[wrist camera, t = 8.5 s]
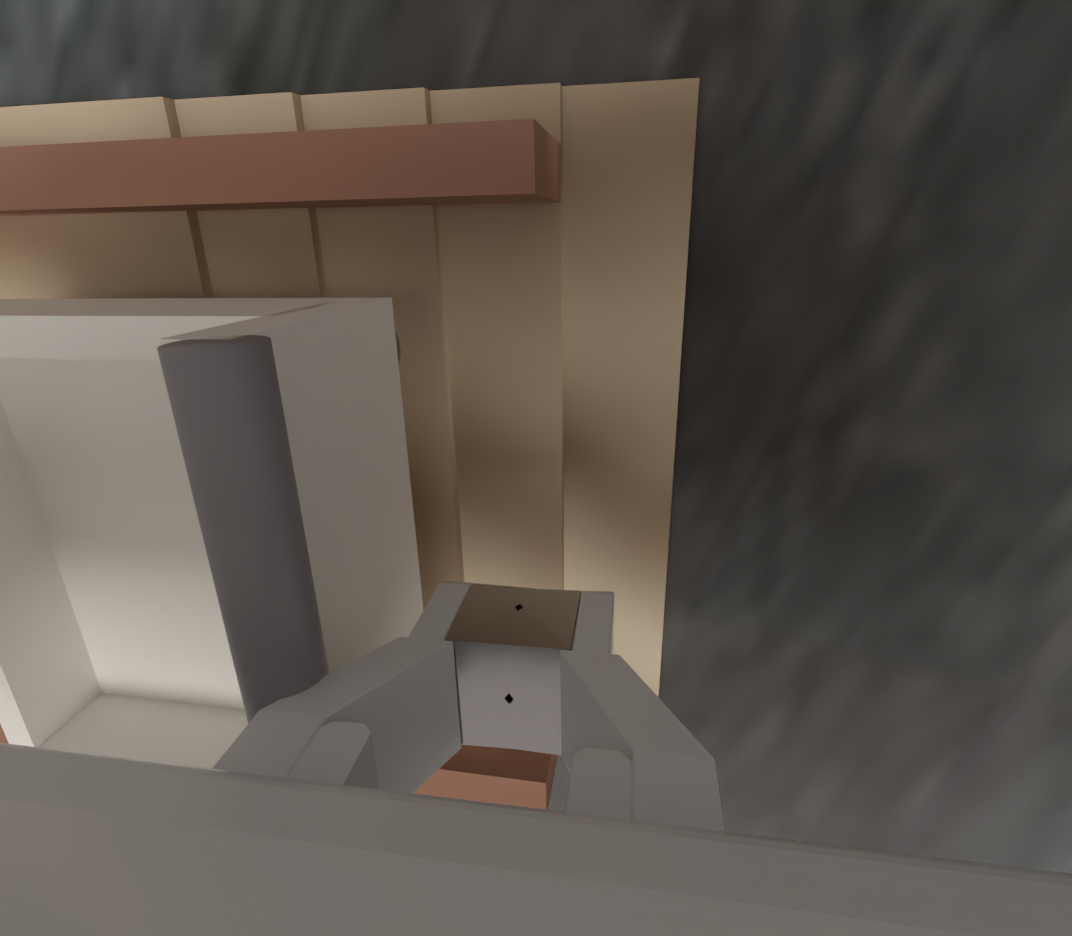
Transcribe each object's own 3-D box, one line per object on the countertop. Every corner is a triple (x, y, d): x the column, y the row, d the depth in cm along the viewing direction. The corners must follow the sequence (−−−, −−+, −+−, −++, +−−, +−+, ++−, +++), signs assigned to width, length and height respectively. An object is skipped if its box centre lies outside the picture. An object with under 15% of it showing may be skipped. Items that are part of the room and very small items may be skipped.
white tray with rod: (61, 290, 13) (-453, 344, 7) (450, 289, 11) (229, 352, 5) (164, 645, 16) (-124, 891, 10) (476, 678, 15) (356, 987, 9)
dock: (-63, 126, 14) (-284, 94, 11) (698, 79, 11) (719, 15, 8) (121, 686, 20) (15, 777, 16) (654, 749, 17) (655, 876, 14)
